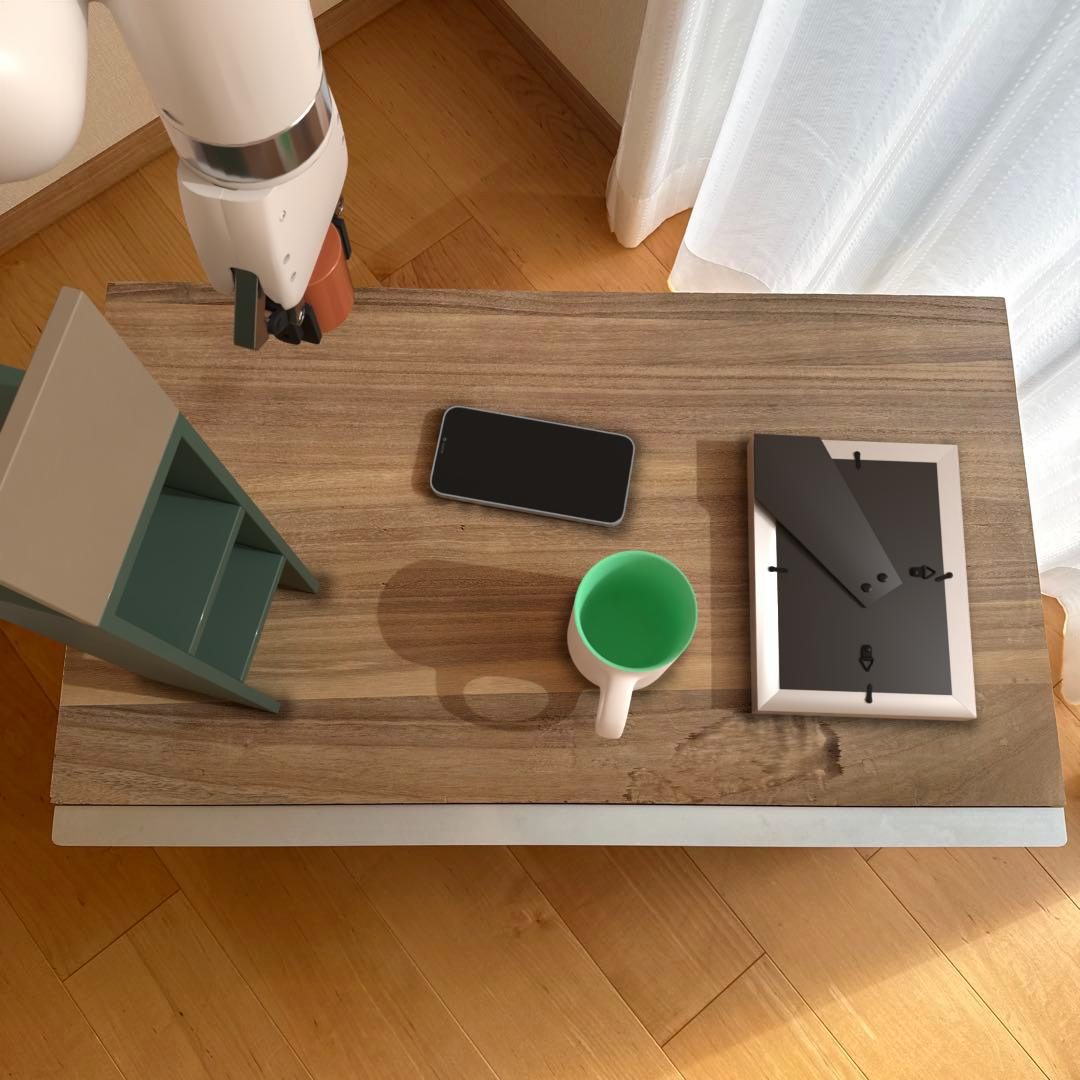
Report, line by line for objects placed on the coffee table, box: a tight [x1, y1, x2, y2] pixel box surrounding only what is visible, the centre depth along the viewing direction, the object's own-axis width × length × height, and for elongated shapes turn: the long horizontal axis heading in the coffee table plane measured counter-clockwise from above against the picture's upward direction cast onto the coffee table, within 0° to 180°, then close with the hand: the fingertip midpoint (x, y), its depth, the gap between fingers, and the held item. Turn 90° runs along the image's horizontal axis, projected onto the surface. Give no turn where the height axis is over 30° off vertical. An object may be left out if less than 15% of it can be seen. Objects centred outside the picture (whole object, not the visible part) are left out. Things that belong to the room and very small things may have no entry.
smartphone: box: [429, 405, 636, 528], centre depth 84 cm, size 7×1×15 cm
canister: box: [304, 222, 356, 335], centre depth 64 cm, size 5×5×6 cm
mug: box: [566, 550, 699, 740], centre depth 75 cm, size 12×8×10 cm, turn 172°
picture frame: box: [746, 433, 978, 722], centre depth 81 cm, size 16×3×21 cm
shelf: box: [0, 285, 321, 715], centre depth 58 cm, size 10×10×46 cm
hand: (311, 291), depth 66 cm, fingers closed on canister, 5 cm apart
